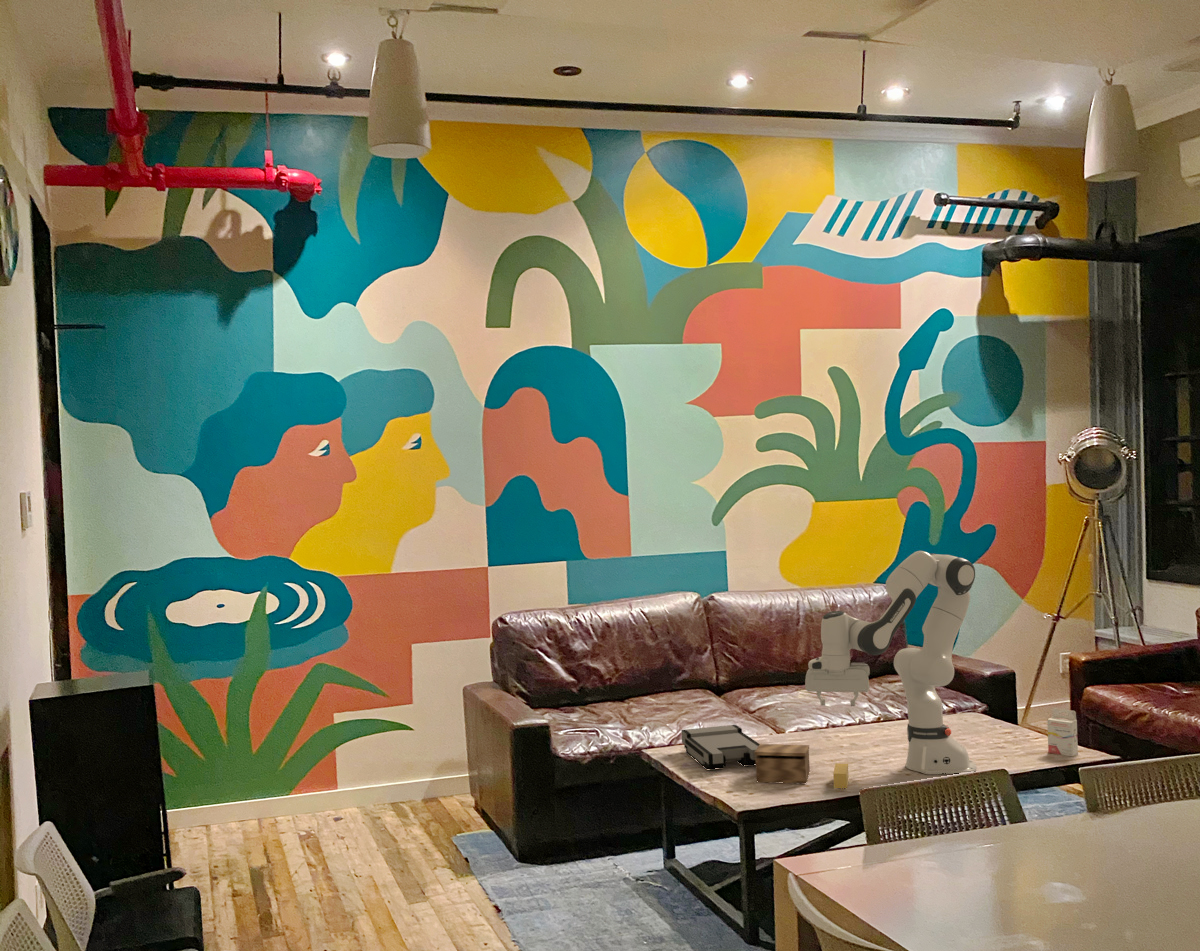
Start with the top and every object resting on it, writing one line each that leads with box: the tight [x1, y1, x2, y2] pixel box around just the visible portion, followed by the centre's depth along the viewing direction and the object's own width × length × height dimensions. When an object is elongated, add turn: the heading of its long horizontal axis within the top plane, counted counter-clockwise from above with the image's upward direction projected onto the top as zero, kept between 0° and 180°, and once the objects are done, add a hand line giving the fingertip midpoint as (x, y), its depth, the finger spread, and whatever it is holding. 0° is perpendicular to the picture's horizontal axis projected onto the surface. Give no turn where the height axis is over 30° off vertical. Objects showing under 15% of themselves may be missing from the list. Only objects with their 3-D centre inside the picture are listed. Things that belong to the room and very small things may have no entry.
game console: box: [681, 724, 761, 770], centre depth 391 cm, size 21×32×8 cm, turn 12°
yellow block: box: [832, 762, 849, 790], centre depth 356 cm, size 4×12×5 cm, turn 165°
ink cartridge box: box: [1047, 707, 1079, 757], centre depth 379 cm, size 9×5×15 cm, turn 47°
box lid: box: [754, 743, 810, 756], centre depth 366 cm, size 16×14×1 cm
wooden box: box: [755, 749, 811, 784], centre depth 366 cm, size 16×14×8 cm
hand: (837, 705), depth 356 cm, fingers open, 8 cm apart
